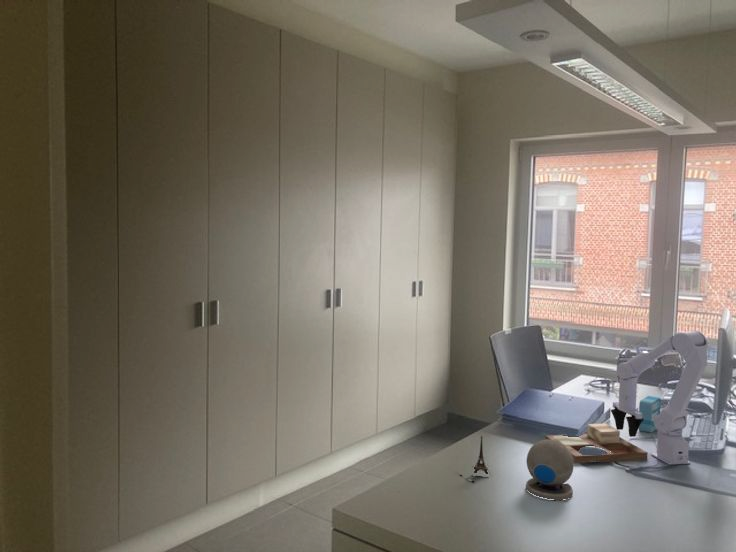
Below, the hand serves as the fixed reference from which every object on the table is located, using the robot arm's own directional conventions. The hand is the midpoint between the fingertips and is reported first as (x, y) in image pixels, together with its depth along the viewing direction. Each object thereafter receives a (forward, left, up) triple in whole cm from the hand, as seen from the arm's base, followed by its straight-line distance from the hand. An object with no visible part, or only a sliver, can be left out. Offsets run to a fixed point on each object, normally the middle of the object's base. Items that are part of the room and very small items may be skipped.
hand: (626, 432), depth 213 cm
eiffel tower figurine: (-18, +62, -5) cm, 65 cm away
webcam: (-34, +47, -5) cm, 58 cm away
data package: (+15, -20, -5) cm, 25 cm away
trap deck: (-5, +15, -4) cm, 16 cm away
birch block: (0, +9, -2) cm, 9 cm away
